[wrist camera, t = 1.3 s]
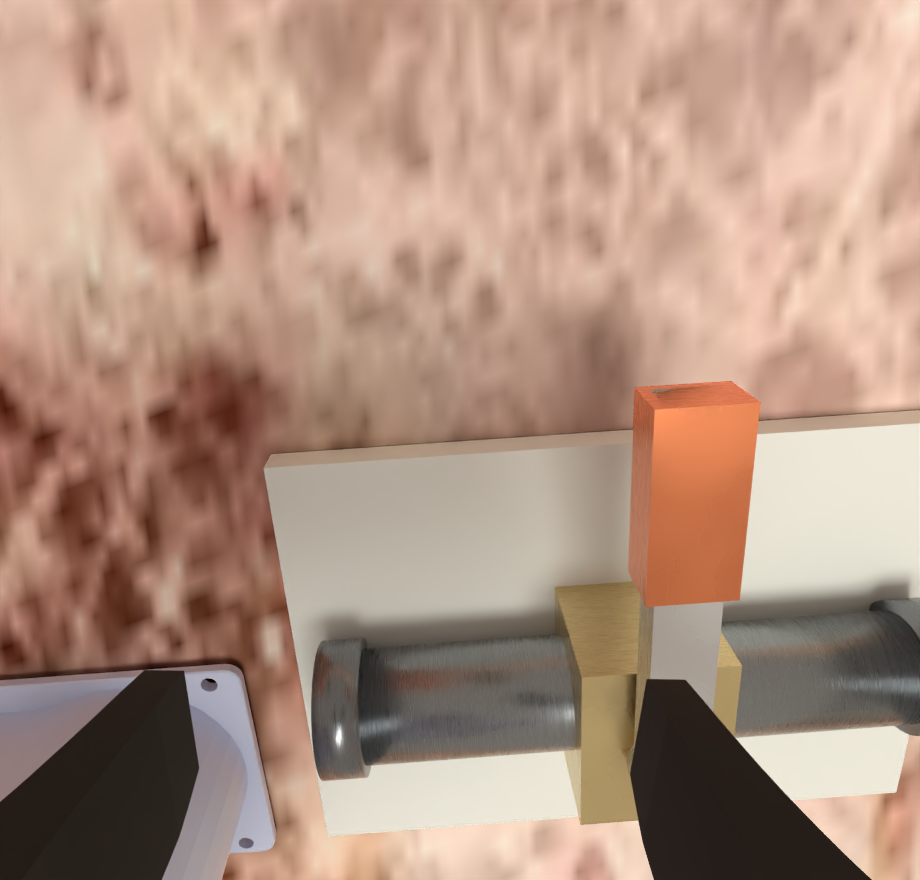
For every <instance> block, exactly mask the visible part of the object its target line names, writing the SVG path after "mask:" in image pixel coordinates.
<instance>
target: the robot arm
mask: <svg viewBox="0 0 920 880" xmlns="http://www.w3.org/2000/svg"><path fill="white" fill-rule="evenodd" d="M207 678H209V679H213V680H215V681H216V683H210V682H208V681H206V679H207ZM630 778H631V783H632V789H633V794H634V800H635V805H636V811H637V816H638V821H639V826H640V831H641V836H642V841H643V844H644V848H645V851H646V855H647V858H648V861H649V865H650V868H651V871H652V875H653V878H654V880H871V879H870V878H869V877H868V876H867V875H866V874H865V873H864V872H863V871H862V870H861V869H860V868H858V867H857V866H856V865H855V864H854V863H853V862H852V861H851V860H850V859H849V858H848V857H847V856H846V855H845V854H844V853H843V852H842V851H841V850H840V849H839V848H838V847H837V846H836V845H835V844H834V843H833V842H832V841H831V840H830V839H829V838H828V837H827V836H826V835H825V834H824V833H823V832H822V831H821V830H820V829H819V828H818V827H817V826H816V825H815V824H814V823H813V822H812V821H811V820H810V819H809V818H808V817H807V816H806V815H805V814H804V813H803V812H802V811H801V810H800V809H799V808H798V807H797V806H796V805H795V803H794V802H793V801H792V800H791V799H790V798H789V797H788V796H787V795H786V794H785V793H784V792H783V790H782V789H781V788H780V787H779V786H778V785H777V784H776V783H775V782H774V781H773V780H772V778H771V777H770V776H769V775H768V774H767V773H766V772H765V771H764V770H763V769H762V768H761V766H760V765H759V764H758V763H757V762H756V761H755V760H754V759H753V757H752V756H751V755H750V754H749V753H748V752H747V751H746V750H745V748H744V747H743V746H742V745H741V744H740V743H739V741H738V740H737V739H736V738H735V737H734V736H733V734H732V733H731V732H730V731H729V730H728V729H727V728H726V726H725V725H724V724H723V723H722V722H721V720H720V719H719V718H718V717H717V716H716V715H715V713H714V712H713V711H712V710H711V709H710V707H709V706H708V705H707V704H706V703H705V702H704V700H703V699H702V698H701V697H700V696H699V695H698V693H697V692H696V691H695V690H694V689H693V688H692V686H691V685H690V684H689V683H688V682H687V681H686V680H681V679H647V680H646V686H645V691H644V697H643V703H642V708H641V714H640V720H639V725H638V731H637V737H636V743H635V748H634V754H633V760H632V765H631V771H630ZM275 839H276V828H275V824H274V819H273V814H272V809H271V805H270V800H269V795H268V790H267V786H266V781H265V776H264V771H263V767H262V762H261V757H260V752H259V748H258V743H257V738H256V733H255V729H254V724H253V719H252V714H251V710H250V705H249V700H248V695H247V691H246V686H245V681H244V676H243V674H242V671H241V670H240V669H239V668H238V667H236V666H234V665H231V664H217V665H203V666H189V667H176V668H162V669H148V670H135V671H121V672H107V673H94V674H80V675H66V676H53V677H39V678H25V679H12V680H0V880H222V877H223V874H224V870H225V867H226V863H227V860H228V856H229V854H232V853H245V852H258V851H265V850H268V849H270V848H272V847H273V845H274V843H275Z"/></svg>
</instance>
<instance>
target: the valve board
mask: <svg viewBox="0 0 920 880" xmlns="http://www.w3.org/2000/svg"><path fill="white" fill-rule="evenodd" d="M632 446H633V430H618V431H603V432H589V433H574V434H559V435H545V436H530V437H515V438H500V439H486V440H471V441H456V442H442V443H427V444H412V445H398V446H383V447H368V448H354V449H339V450H324V451H310V452H295V453H280V454H271V455H270V457H269V459H268V461H267V462H266V464H265V466H264V468H263V469H264V474H265V480H266V486H267V492H268V497H269V503H270V509H271V515H272V520H273V526H274V532H275V537H276V543H277V549H278V555H279V560H280V566H281V572H282V578H283V583H284V589H285V595H286V601H287V606H288V612H289V618H290V624H291V629H292V635H293V641H294V647H295V652H296V658H297V664H298V670H299V675H300V681H301V687H302V693H303V698H304V704H305V710H306V715H307V721H308V727H309V733H310V738H311V744H312V750H313V743H312V728H311V692H312V678H313V669H314V662H315V657H316V653H317V649H318V646H319V644H320V643H321V641H325V640H339V639H353V638H365V639H366V642H367V648H373V647H387V646H401V645H414V644H428V643H442V642H455V641H469V640H483V639H496V638H510V637H524V636H538V635H551V634H555V587H562V586H576V585H590V584H604V583H618V582H632V579H631V576H630V574H629V572H628V558H629V530H630V502H631V474H632ZM916 597H920V410H912V411H897V412H882V413H868V414H853V415H838V416H824V417H809V418H794V419H780V420H765V421H759V422H758V431H757V441H756V450H755V460H754V469H753V479H752V488H751V498H750V507H749V517H748V526H747V536H746V545H745V555H744V564H743V574H742V583H741V593H740V600H738V601H725V602H724V604H723V614H722V622H729V621H743V620H757V619H770V618H784V617H798V616H811V615H825V614H839V613H852V612H866V611H869V609H870V605H871V604H872V603H874V602H876V601H879V600H888V599H902V598H916ZM908 738H909V734H906V733H904V732H903V731H901V730H899V729H898V728H897V727H895V726H887V727H874V728H861V729H848V730H834V731H821V732H808V733H795V734H782V735H769V736H756V737H742V738H736V739H737V740H738V741H739V743H740V744H741V745H742V746H743V747H744V748H745V750H746V751H747V752H748V753H749V754H750V755H751V756H752V757H753V759H754V760H755V761H756V762H757V763H758V764H759V765H760V766H761V768H762V769H763V770H764V771H765V772H766V773H767V774H768V775H769V776H770V777H771V778H772V780H773V781H774V782H775V783H776V784H777V785H778V786H779V787H780V788H781V789H782V790H783V792H784V793H785V794H786V795H787V796H788V797H789V798H790V799H791V800H803V799H816V798H829V797H842V796H855V795H868V794H881V793H894V792H896V791H897V786H898V782H899V777H900V773H901V769H902V764H903V760H904V756H905V751H906V747H907V743H908ZM313 756H314V752H313ZM314 761H315V759H314ZM315 767H316V764H315ZM316 773H317V779H318V784H319V790H320V796H321V802H322V807H323V813H324V819H325V825H326V830H327V836H340V835H353V834H366V833H378V832H391V831H404V830H417V829H430V828H443V827H456V826H469V825H481V824H494V823H507V822H520V821H533V820H546V819H559V818H572V817H579V816H578V811H577V807H576V803H575V798H574V794H573V789H572V785H571V781H570V776H569V772H568V768H567V763H566V759H565V755H564V751H558V752H545V753H532V754H519V755H505V756H492V757H479V758H466V759H453V760H440V761H426V762H413V763H400V764H387V765H374V766H371V770H370V774H369V776H368V777H367V778H358V779H345V780H332V781H322V780H321V779H320V777H319V775H318V772H317V769H316Z"/></svg>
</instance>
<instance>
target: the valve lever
mask: <svg viewBox="0 0 920 880" xmlns="http://www.w3.org/2000/svg"><path fill="white" fill-rule="evenodd" d="M759 413H760V402H759V401H758V400H756V399H755V398H754V397H752V396H751V395H749V394H748V393H747V392H745V391H744V390H743V389H741V388H740V387H738V386H737V385H736V384H734V383H733V382H732V381H724V382H709V383H694V384H679V385H664V386H649V387H635V391H634V419H633V446H632V474H631V502H630V530H629V558H628V572H629V574H630V576H631V579H632V581H633V583H634V585H635V587H636V589H637V591H638V593H639V595H640V617H639V639H638V662H637V685H636V707H635V730H634V744H633V746H632V747H631V748H630V750H629V752H628V754H627V758H626V765H627V769H628V772H629V775H630V771H631V765H632V760H633V754H634V748H635V743H636V737H637V731H638V725H639V720H640V714H641V708H642V703H643V697H644V691H645V686H646V680H647V679H681V680H686V681H687V682H688V683H689V684H690V685H691V686H692V688H693V689H694V690H695V691H696V692H697V693H698V695H699V696H700V697H701V698H702V699H703V700H704V702H705V703H706V704H707V705H708V706H709V707H710V709H711V710H712V711H713V708H714V698H715V687H716V677H717V666H718V656H719V645H720V635H721V625H722V614H723V604H724V602H725V601H738V600H740V593H741V583H742V574H743V564H744V555H745V545H746V536H747V526H748V517H749V507H750V498H751V488H752V479H753V469H754V460H755V450H756V441H757V431H758V422H759Z"/></svg>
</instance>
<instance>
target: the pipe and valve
mask: <svg viewBox="0 0 920 880" xmlns="http://www.w3.org/2000/svg"><path fill="white" fill-rule="evenodd" d="M639 617H640V595H639V593H638V591H637V589H636V587H635V585H634V583H633V581H632V582H618V583H604V584H590V585H576V586H562V587H555V634H551V635H538V636H524V637H510V638H496V639H483V640H469V641H455V642H442V643H428V644H414V645H401V646H387V647H373V648H367V642H366V639H365V638H353V639H339V640H325V641H321V643H320V644H319V646H318V649H317V653H316V657H315V662H314V669H313V678H312V692H311V728H312V743H313V752H314V759H315V764H316V769H317V772H318V775H319V777H320V779H321V780H322V781H332V780H345V779H358V778H367V777H368V776H369V774H370V770H371V766H374V765H387V764H400V763H413V762H426V761H440V760H453V759H466V758H479V757H492V756H505V755H519V754H532V753H545V752H558V751H564V755H565V759H566V763H567V768H568V772H569V776H570V781H571V785H572V789H573V794H574V798H575V803H576V807H577V811H578V816H579V820H580V824H581V825H584V824H597V823H610V822H623V821H636V820H638V816H637V811H636V805H635V800H634V794H633V789H632V783H631V778H630V775H629V772H628V769H627V765H626V758H627V754H628V752H629V750H630V748H631V747H632V746H633V744H634V730H635V707H636V685H637V662H638V639H639ZM713 712H714V713H715V715H716V716H717V717H718V718H719V719H720V720H721V722H722V723H723V724H724V725H725V726H726V728H727V729H728V730H729V731H730V732H731V733H732V734H733V736H734V737H735V738H742V737H756V736H769V735H782V734H795V733H808V732H821V731H834V730H848V729H861V728H874V727H887V726H895V727H897V728H898V729H899V730H901V731H903V732H904V733H906V734H909V735H914V736H920V597H916V598H902V599H888V600H879V601H876V602H874V603H872V604H871V605H870V609H869V611H866V612H852V613H839V614H825V615H811V616H798V617H784V618H770V619H757V620H743V621H729V622H722V625H721V635H720V645H719V656H718V666H717V677H716V687H715V698H714V708H713Z"/></svg>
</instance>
